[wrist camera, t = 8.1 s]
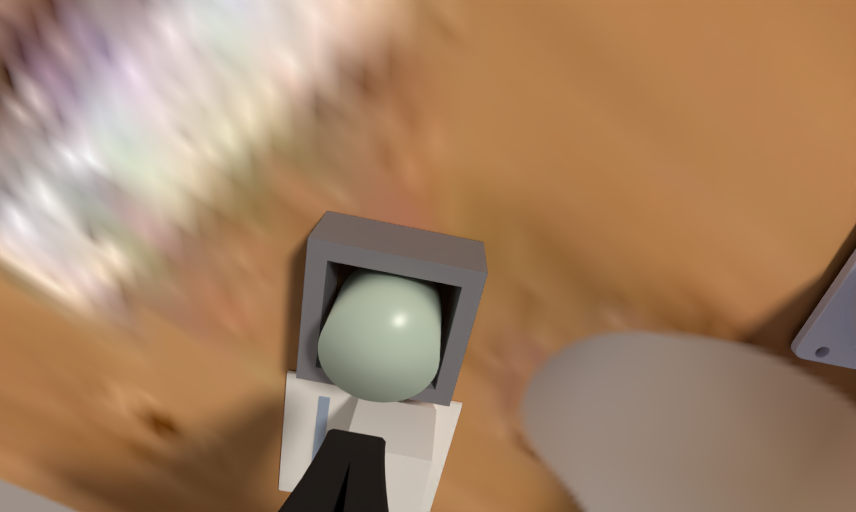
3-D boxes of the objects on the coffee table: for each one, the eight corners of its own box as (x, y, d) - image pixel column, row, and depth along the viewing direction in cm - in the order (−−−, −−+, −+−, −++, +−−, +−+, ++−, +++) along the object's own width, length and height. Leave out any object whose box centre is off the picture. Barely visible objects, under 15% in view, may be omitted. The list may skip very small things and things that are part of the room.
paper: (462, 402, 21) (462, 406, 21) (428, 513, 24) (428, 517, 24) (288, 370, 21) (286, 373, 20) (279, 487, 24) (278, 490, 24)
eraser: (363, 384, 21) (344, 444, 18) (437, 398, 21) (431, 461, 17) (347, 499, 24) (329, 567, 21) (411, 511, 24) (402, 581, 21)
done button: (451, 272, 17) (451, 317, 14) (430, 357, 19) (426, 412, 16) (344, 251, 17) (323, 292, 14) (333, 338, 18) (312, 390, 16)
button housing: (483, 242, 17) (487, 272, 15) (449, 364, 20) (449, 406, 18) (327, 210, 17) (307, 237, 15) (313, 338, 20) (295, 378, 18)
